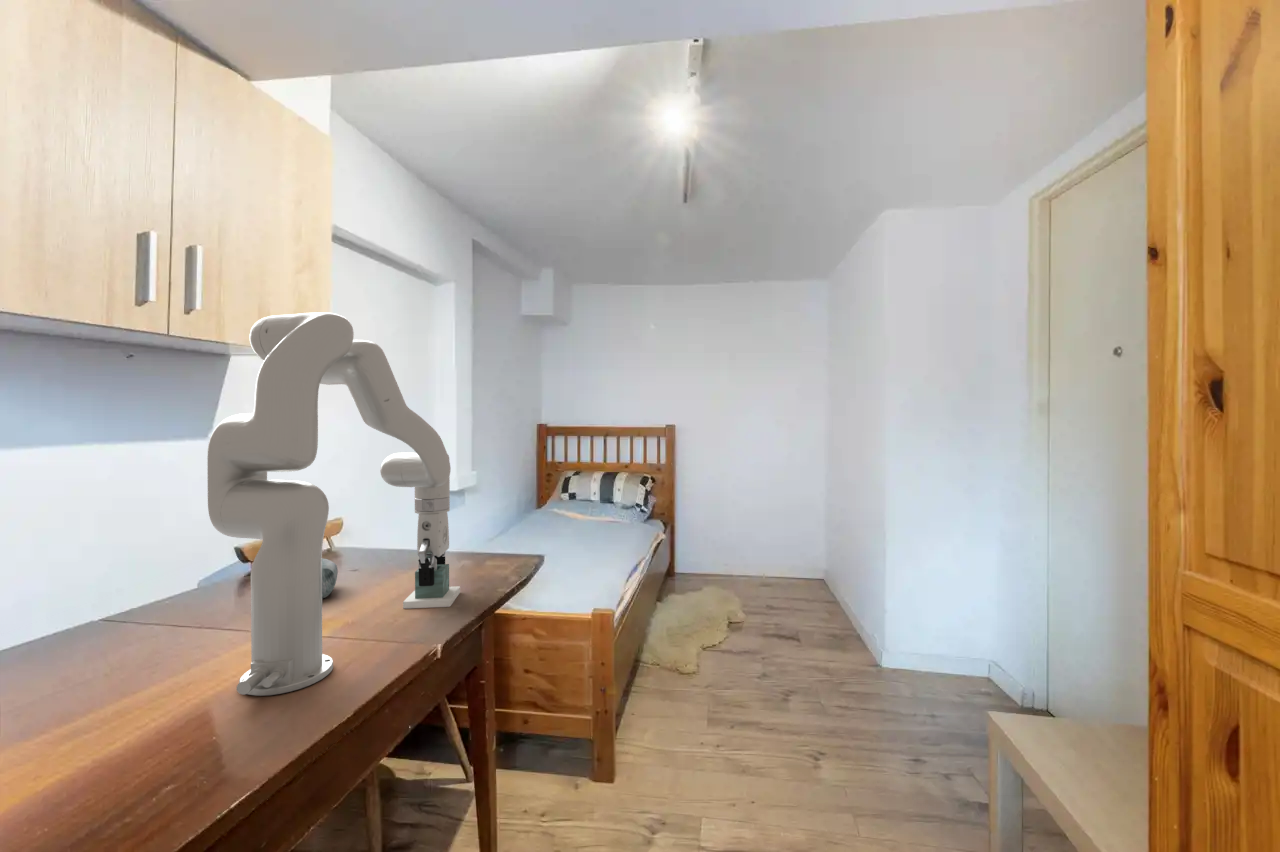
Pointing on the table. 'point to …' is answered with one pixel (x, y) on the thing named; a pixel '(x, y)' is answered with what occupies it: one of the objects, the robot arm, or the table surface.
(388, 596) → the table surface
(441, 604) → the white peg stand
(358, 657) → the table surface
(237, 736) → the table surface
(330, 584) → the spool
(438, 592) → the bead
